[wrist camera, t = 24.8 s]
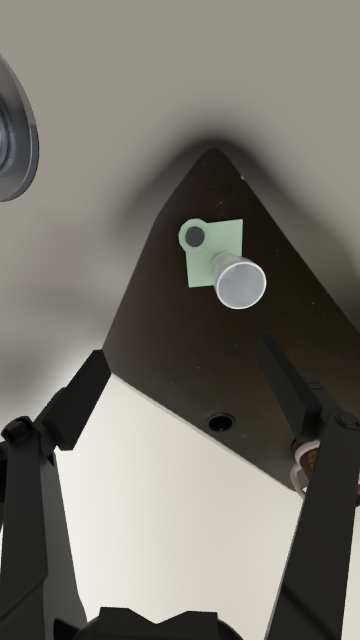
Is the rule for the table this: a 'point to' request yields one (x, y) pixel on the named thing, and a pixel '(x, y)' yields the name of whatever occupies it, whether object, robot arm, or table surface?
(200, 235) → the button
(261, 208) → the table surface
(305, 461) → the mug
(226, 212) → the table surface
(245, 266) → the drinking glass
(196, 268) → the scale
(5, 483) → the robot arm
